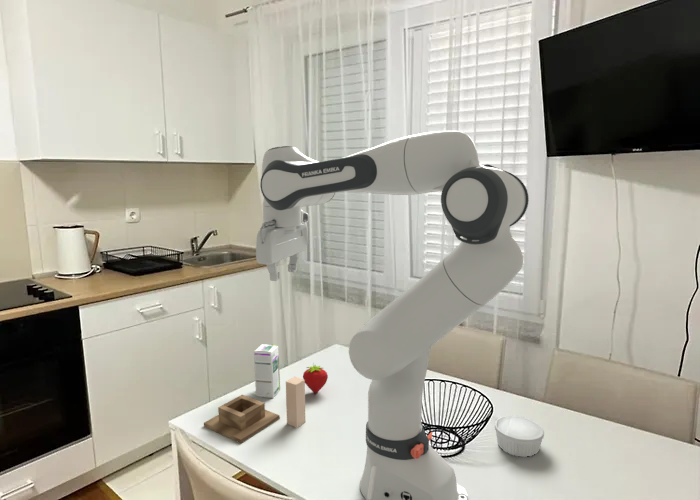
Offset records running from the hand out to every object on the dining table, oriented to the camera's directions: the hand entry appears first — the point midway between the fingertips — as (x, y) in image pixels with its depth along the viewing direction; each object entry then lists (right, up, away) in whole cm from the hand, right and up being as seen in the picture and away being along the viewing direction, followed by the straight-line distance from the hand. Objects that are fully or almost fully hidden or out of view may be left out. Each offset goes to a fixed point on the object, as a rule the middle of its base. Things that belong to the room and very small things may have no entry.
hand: (283, 275), depth 112 cm
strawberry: (+5, -37, +30) cm, 48 cm away
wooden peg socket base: (-13, -40, +14) cm, 44 cm away
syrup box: (-9, -37, +30) cm, 49 cm away
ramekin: (+57, -42, +3) cm, 71 cm away
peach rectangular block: (+1, -40, +14) cm, 42 cm away
